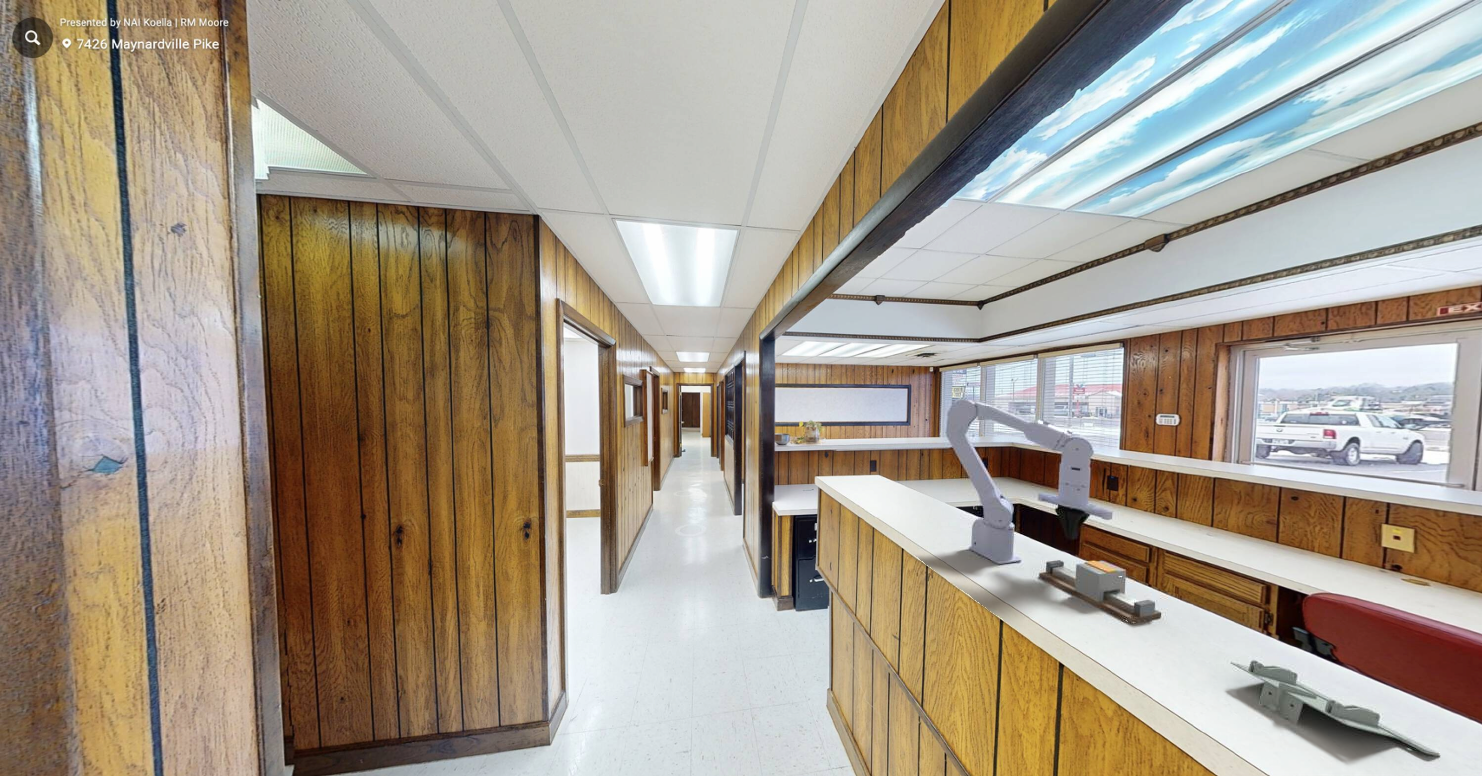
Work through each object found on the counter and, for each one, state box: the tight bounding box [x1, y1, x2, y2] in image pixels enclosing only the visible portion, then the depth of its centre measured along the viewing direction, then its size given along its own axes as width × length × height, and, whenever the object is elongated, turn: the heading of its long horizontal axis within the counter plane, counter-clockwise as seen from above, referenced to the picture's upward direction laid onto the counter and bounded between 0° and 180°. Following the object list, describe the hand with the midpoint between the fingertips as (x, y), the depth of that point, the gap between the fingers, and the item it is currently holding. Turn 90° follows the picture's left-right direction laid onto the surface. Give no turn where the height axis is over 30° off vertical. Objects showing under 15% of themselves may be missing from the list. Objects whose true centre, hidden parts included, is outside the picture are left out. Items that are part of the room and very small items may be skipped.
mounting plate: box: [1038, 571, 1162, 624], centre depth 86 cm, size 18×9×1 cm, turn 15°
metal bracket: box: [1230, 659, 1441, 757], centre depth 56 cm, size 14×6×15 cm
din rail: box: [1045, 559, 1156, 617], centre depth 85 cm, size 18×4×2 cm, turn 15°
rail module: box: [1075, 560, 1127, 602], centre depth 84 cm, size 4×8×6 cm, turn 105°
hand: (1070, 538), depth 94 cm, fingers closed
